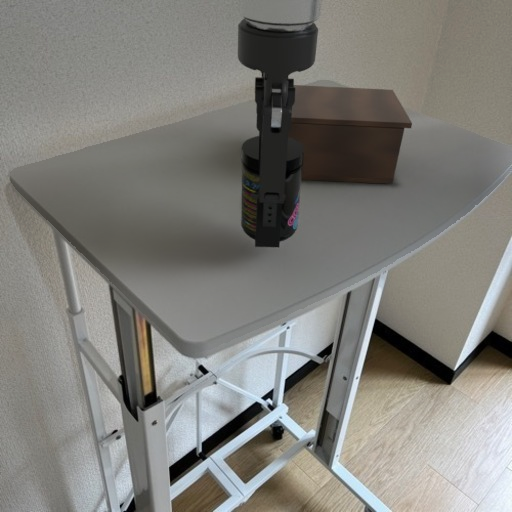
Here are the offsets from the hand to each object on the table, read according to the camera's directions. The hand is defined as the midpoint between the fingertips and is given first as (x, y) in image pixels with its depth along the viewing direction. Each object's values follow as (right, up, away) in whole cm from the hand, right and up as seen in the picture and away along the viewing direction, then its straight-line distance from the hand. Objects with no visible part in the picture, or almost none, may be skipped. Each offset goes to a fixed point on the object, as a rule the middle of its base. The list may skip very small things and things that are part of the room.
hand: (266, 226), depth 65 cm
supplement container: (0, 0, 0) cm, 1 cm away
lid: (+12, +19, +18) cm, 29 cm away
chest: (+11, +12, +23) cm, 28 cm away
